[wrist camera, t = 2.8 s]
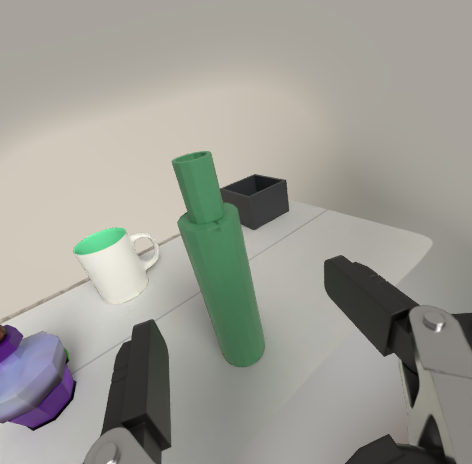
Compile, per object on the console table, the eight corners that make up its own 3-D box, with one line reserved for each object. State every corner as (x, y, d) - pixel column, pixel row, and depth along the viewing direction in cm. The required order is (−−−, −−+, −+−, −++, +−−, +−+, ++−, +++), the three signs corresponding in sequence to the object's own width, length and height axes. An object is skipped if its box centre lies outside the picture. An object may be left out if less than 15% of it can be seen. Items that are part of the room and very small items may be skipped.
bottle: (255, 322, 32) (215, 144, 21) (272, 355, 28) (233, 153, 16) (218, 337, 31) (156, 159, 20) (229, 374, 27) (157, 172, 15)
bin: (258, 201, 67) (254, 174, 63) (289, 210, 58) (286, 180, 54) (226, 217, 62) (219, 188, 58) (254, 230, 53) (248, 197, 50)
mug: (158, 258, 51) (139, 214, 46) (174, 274, 45) (155, 225, 40) (99, 289, 45) (70, 243, 40) (109, 312, 39) (76, 261, 34)
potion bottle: (103, 361, 31) (51, 293, 25) (62, 444, 24) (-25, 376, 18) (42, 369, 32) (-22, 305, 26) (-16, 452, 24) (-124, 389, 19)
